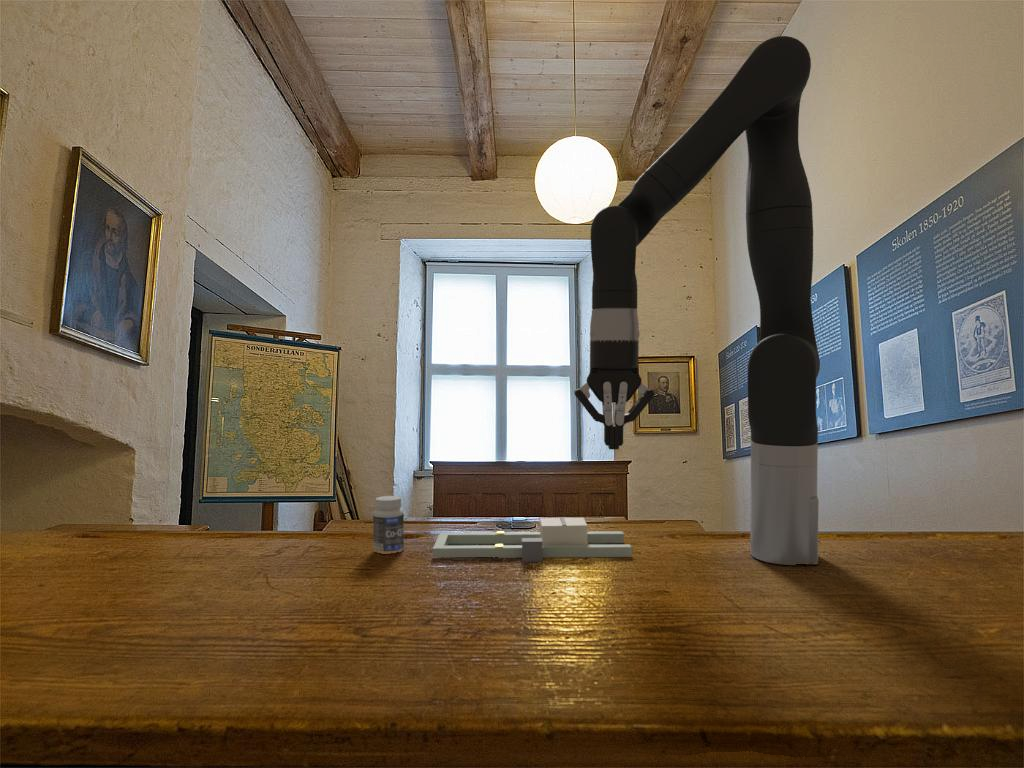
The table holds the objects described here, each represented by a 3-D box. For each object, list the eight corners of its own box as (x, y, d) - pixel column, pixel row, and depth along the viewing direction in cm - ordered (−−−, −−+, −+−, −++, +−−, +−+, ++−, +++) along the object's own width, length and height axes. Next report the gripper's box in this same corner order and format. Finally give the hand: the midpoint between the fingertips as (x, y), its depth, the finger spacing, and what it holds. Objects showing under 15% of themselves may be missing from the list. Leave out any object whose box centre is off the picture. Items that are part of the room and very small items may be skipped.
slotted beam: (622, 540, 112) (622, 522, 111) (633, 560, 100) (633, 540, 100) (440, 541, 112) (439, 523, 112) (431, 562, 101) (430, 542, 101)
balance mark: (504, 532, 112) (504, 531, 112) (502, 548, 103) (502, 546, 103) (496, 532, 112) (496, 531, 112) (494, 548, 103) (494, 546, 103)
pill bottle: (388, 556, 104) (387, 502, 103) (367, 551, 107) (366, 498, 106) (410, 549, 108) (409, 497, 107) (389, 544, 110) (389, 493, 110)
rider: (583, 545, 110) (583, 517, 109) (587, 554, 105) (587, 524, 104) (540, 545, 110) (540, 517, 109) (542, 555, 105) (541, 525, 104)
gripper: (652, 339, 110) (651, 445, 111) (570, 339, 110) (570, 445, 111) (661, 338, 102) (660, 452, 103) (573, 338, 103) (572, 452, 103)
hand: (613, 448), depth 107 cm, fingers closed
